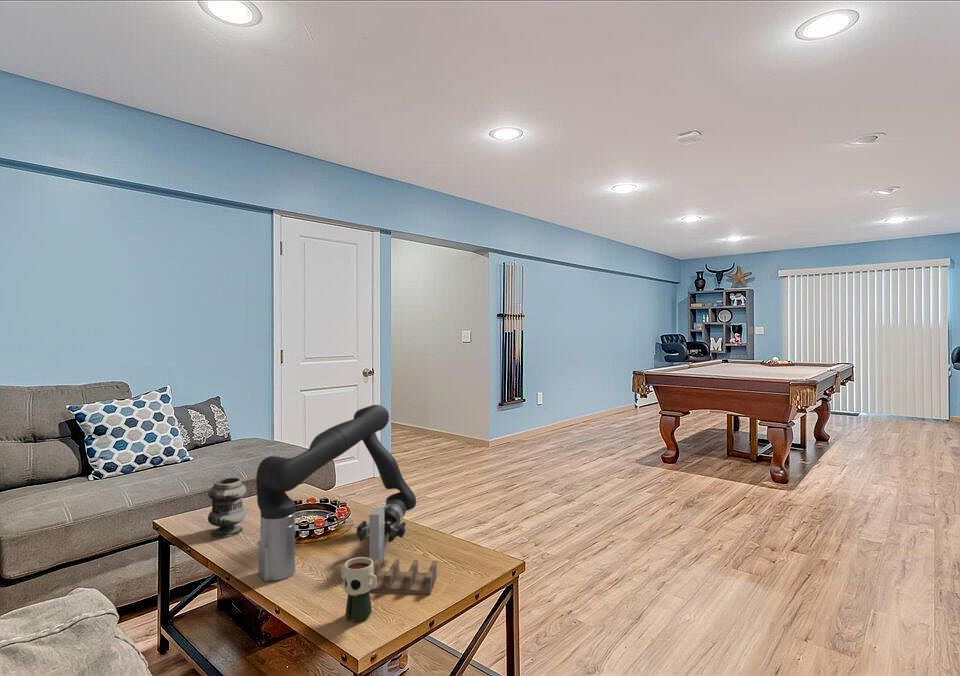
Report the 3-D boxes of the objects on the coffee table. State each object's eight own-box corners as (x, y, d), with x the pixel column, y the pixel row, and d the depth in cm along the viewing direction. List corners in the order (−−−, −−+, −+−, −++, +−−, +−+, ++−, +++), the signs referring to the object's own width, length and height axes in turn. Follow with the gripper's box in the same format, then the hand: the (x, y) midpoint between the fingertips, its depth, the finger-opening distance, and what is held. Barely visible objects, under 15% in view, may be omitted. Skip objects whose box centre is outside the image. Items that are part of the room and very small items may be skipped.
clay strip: (378, 569, 152) (378, 514, 152) (369, 569, 152) (369, 514, 152) (384, 560, 158) (384, 507, 158) (375, 560, 158) (375, 507, 158)
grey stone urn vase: (222, 541, 172) (222, 487, 171) (199, 534, 177) (199, 481, 177) (254, 529, 182) (254, 478, 182) (232, 523, 188) (232, 473, 188)
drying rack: (430, 594, 138) (430, 577, 138) (366, 591, 139) (366, 574, 139) (436, 576, 148) (436, 560, 148) (376, 574, 149) (376, 558, 149)
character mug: (331, 617, 127) (331, 563, 127) (351, 603, 133) (351, 552, 133) (365, 629, 122) (365, 574, 121) (385, 615, 128) (385, 562, 128)
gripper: (367, 506, 170) (351, 525, 154) (410, 507, 169) (399, 526, 153) (367, 529, 170) (351, 550, 154) (410, 531, 169) (399, 552, 153)
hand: (375, 538), depth 153 cm, fingers open, 8 cm apart
